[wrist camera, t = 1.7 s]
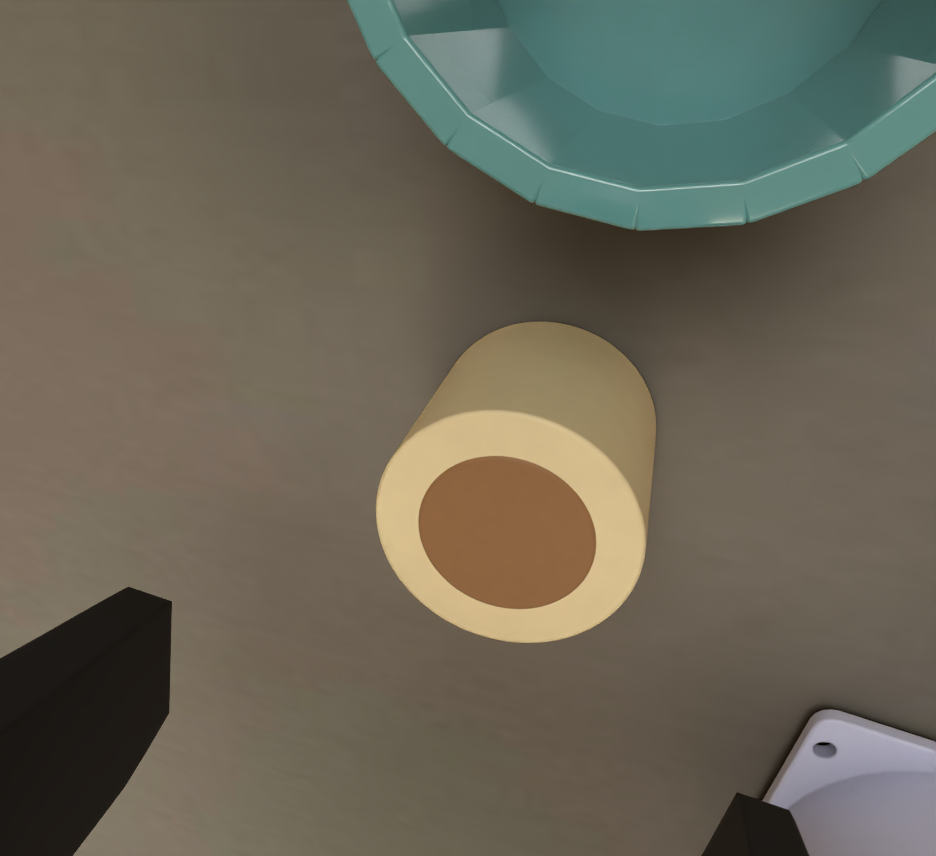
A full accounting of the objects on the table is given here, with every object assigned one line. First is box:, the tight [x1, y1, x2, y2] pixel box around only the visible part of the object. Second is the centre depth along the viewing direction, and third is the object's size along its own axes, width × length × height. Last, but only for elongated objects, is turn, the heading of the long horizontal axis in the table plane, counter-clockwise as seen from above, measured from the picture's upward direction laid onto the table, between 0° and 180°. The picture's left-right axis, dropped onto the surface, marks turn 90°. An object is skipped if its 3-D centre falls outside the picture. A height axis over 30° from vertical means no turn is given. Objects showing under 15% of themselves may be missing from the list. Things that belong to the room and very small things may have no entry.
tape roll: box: [376, 321, 656, 643], centre depth 16 cm, size 5×5×4 cm
